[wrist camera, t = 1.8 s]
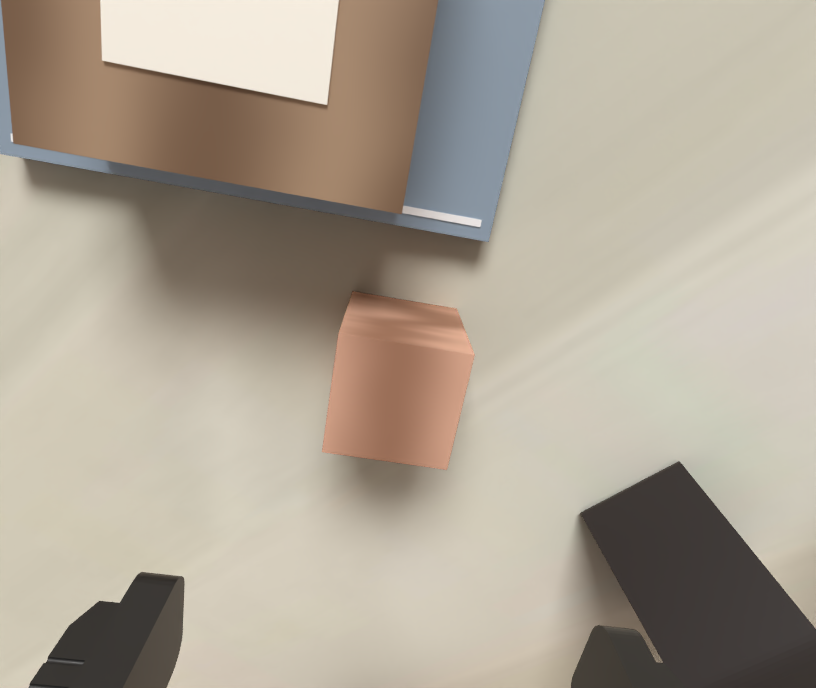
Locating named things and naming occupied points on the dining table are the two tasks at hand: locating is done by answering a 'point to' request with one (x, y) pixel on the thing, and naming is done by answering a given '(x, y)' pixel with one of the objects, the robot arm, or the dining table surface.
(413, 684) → the dining table surface
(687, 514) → the phone stand
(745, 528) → the dining table surface
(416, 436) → the terracotta block
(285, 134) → the base
